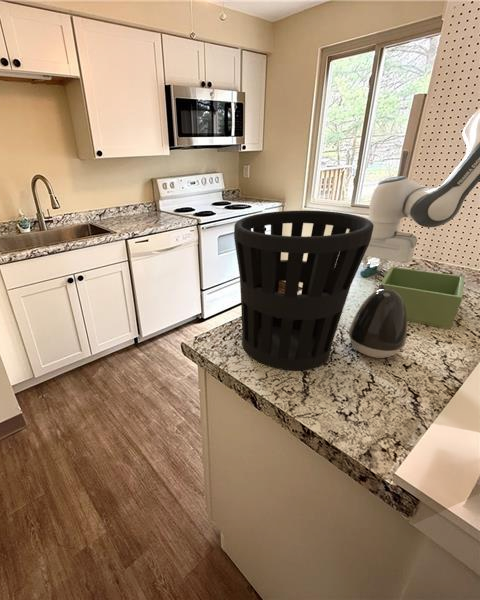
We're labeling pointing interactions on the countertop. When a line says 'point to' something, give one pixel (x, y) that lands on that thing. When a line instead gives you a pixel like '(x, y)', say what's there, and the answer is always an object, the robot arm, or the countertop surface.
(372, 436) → the countertop surface
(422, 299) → the bin
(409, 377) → the countertop surface
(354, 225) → the wastebasket
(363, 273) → the teal rounded rod
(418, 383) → the countertop surface
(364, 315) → the dark brown egg shape
